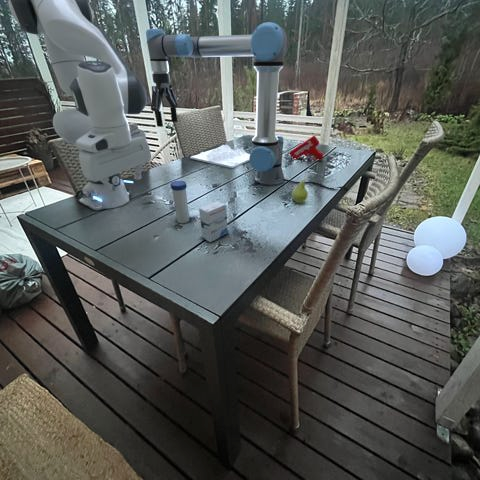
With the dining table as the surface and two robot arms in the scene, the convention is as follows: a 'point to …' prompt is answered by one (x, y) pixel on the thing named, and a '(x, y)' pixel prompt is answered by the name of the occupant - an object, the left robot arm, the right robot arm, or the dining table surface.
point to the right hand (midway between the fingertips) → (167, 124)
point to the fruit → (300, 192)
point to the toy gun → (307, 149)
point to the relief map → (223, 156)
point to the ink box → (213, 221)
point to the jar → (181, 205)
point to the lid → (178, 185)
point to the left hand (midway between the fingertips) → (125, 184)
